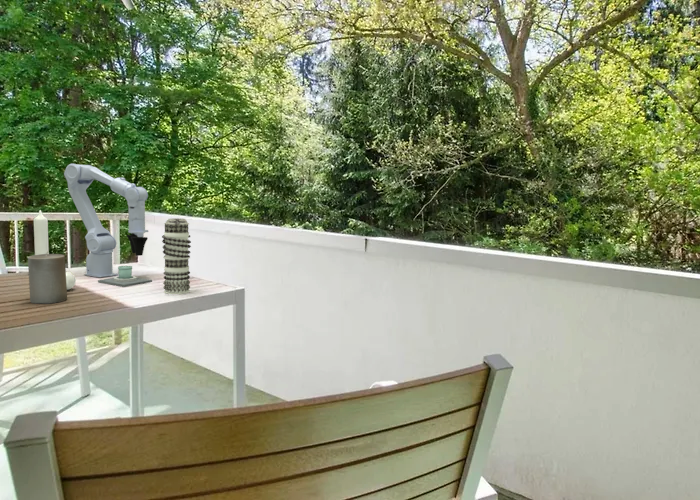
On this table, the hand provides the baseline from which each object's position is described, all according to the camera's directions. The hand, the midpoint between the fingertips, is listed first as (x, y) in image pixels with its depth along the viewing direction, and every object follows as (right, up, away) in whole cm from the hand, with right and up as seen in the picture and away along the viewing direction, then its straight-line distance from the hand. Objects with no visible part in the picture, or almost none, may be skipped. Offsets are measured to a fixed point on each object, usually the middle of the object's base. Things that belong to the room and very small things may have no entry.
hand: (137, 254), depth 190 cm
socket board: (-1, -10, -7) cm, 13 cm away
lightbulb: (-12, -12, -32) cm, 36 cm away
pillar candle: (-10, -14, -39) cm, 43 cm away
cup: (-1, -10, -7) cm, 12 cm away
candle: (-37, -8, 0) cm, 37 cm away
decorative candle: (+22, -13, -20) cm, 33 cm away
